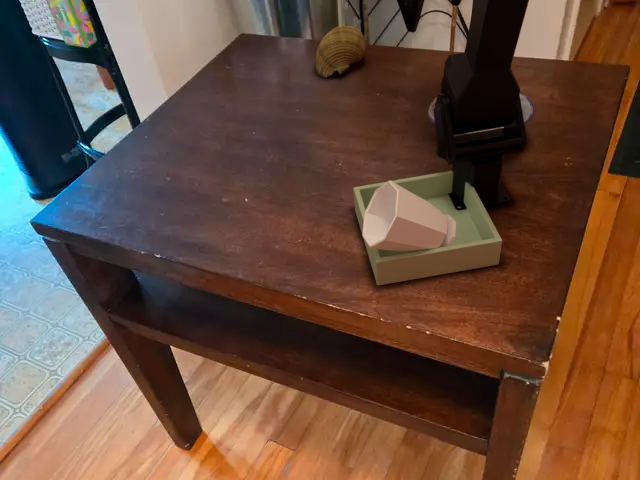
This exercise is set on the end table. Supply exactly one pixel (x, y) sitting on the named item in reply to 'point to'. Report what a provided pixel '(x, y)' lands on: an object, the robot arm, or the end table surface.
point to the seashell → (339, 50)
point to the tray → (463, 254)
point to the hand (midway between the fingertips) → (433, 18)
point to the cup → (405, 222)
